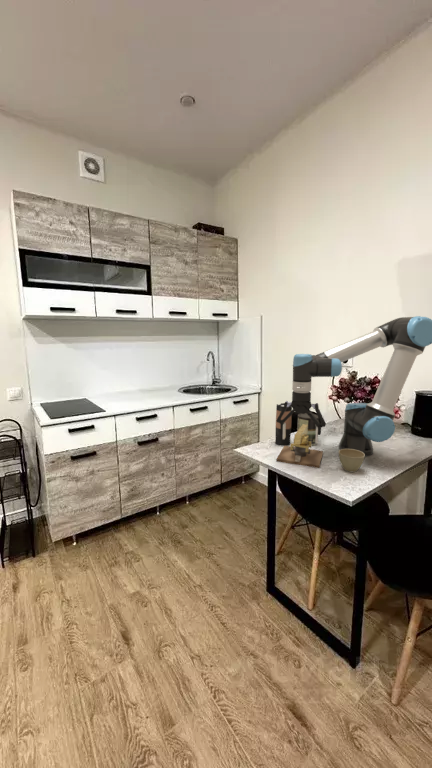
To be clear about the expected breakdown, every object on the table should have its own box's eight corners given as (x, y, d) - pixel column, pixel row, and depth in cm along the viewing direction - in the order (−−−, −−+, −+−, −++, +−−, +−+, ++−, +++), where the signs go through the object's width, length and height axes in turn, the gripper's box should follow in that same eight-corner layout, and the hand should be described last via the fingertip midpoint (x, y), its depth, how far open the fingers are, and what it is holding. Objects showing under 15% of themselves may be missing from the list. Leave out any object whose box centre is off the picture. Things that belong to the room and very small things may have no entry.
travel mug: (290, 446, 163) (292, 407, 160) (274, 445, 165) (276, 406, 161) (290, 441, 170) (292, 403, 167) (275, 440, 172) (276, 402, 169)
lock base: (322, 453, 155) (323, 441, 154) (319, 468, 138) (319, 454, 137) (284, 447, 161) (284, 436, 160) (276, 461, 145) (276, 448, 144)
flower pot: (338, 463, 144) (339, 447, 143) (363, 466, 140) (364, 450, 139) (336, 472, 135) (338, 455, 133) (363, 476, 131) (365, 459, 130)
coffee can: (317, 440, 173) (319, 414, 171) (316, 446, 163) (318, 419, 161) (297, 438, 176) (298, 412, 174) (295, 444, 167) (296, 417, 164)
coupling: (296, 440, 159) (297, 423, 157) (313, 443, 155) (314, 425, 154) (287, 453, 143) (288, 434, 141) (306, 456, 139) (307, 436, 138)
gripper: (269, 391, 139) (269, 439, 143) (332, 394, 130) (330, 446, 134) (273, 388, 146) (273, 434, 150) (333, 391, 137) (331, 440, 140)
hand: (300, 440), depth 142 cm, fingers open, 13 cm apart
